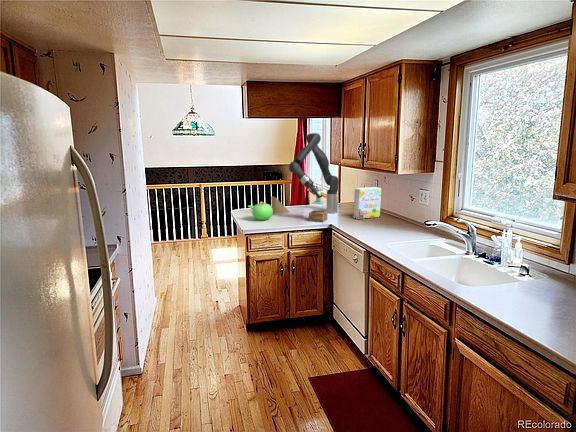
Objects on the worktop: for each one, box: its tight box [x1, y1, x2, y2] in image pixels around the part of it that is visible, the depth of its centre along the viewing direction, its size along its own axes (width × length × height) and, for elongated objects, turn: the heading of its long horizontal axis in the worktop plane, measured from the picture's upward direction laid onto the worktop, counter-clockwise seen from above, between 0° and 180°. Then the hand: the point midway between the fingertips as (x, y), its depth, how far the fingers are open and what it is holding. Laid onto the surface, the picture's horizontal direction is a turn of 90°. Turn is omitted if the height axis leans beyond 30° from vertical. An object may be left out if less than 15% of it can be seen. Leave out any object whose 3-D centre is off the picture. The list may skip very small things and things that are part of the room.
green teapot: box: [247, 201, 274, 221], centre depth 327 cm, size 18×17×15 cm
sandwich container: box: [270, 196, 290, 215], centre depth 357 cm, size 9×15×15 cm, turn 118°
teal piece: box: [311, 188, 326, 205], centre depth 321 cm, size 8×8×12 cm
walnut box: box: [308, 209, 329, 223], centre depth 325 cm, size 12×12×7 cm
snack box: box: [352, 186, 383, 220], centre depth 331 cm, size 22×9×26 cm, turn 112°
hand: (320, 197), depth 321 cm, fingers closed on teal piece, 3 cm apart
